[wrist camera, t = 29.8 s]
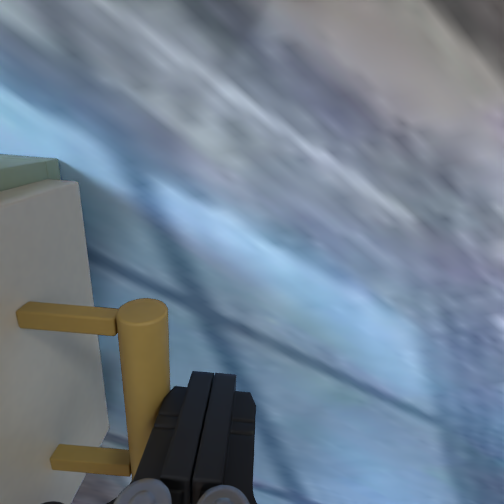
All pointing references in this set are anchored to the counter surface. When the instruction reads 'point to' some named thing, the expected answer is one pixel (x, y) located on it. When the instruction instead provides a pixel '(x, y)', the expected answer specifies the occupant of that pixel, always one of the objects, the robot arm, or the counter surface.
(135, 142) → the counter surface
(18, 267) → the drawer
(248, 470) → the robot arm
